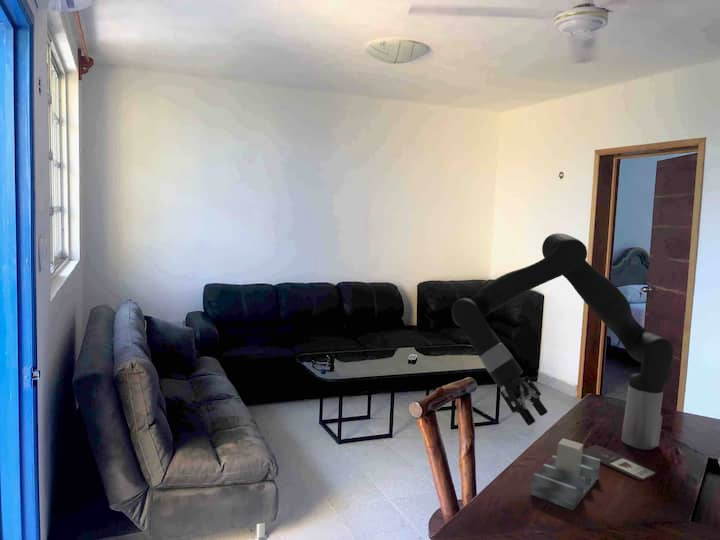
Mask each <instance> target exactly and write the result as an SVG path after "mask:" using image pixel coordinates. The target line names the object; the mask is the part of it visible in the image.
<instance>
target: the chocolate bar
mask: <svg viewBox="0 0 720 540" xmlns="http://www.w3.org/2000/svg"><path fill="white" fill-rule="evenodd" d="M582 454H584V455H588V456H591V457H594V458H597V459H600V460H601V461H600V463H601V464H600V465H602V464H603V466H605V465H606V466H605V467H607V466H608V467H607V468H609V467H610V468H609V469H611V468H612V469H611V470H613V469H614V471H615V470H616V472H618V471H619V472H618V473H620V472H621V473H620V474H622V475H624V476H626V475H627V477H629V478H632V479H633V480H635V479H636V481H637V480H638V482H639V481H640V482H642V481H644V480H645V478H646V479H648V478H650V477H652V476H654V475H656V474H658V470H656V469H653V468H651V467H649V466H646V465H644V464H642V463H639V462H637V461H635V460H634V459H633V460H632V459H630V458H628V457H626V456H623V455H621V454H619V453H617V452H614V451H612V450H609V449H607V448H605V447H603V446H601V445H599V444H594V445H591V446H589V447H585V448H583V452H582ZM653 474H654V475H653ZM651 475H652V476H651ZM649 476H650V477H649ZM647 477H648V478H647ZM643 479H644V480H643ZM641 480H642V481H641Z"/></svg>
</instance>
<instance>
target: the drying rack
mask: <svg viewBox="0 0 720 540" xmlns="http://www.w3.org/2000/svg"><path fill="white" fill-rule="evenodd" d="M556 457H557V455H552V456H551V460H550V461H551V463H550V464H547V463H544V464H543V465H542V468H541V469H542V471H541V474H539V473H537V472H534V473H533V474H532V484H531V490H530V492H531V493H530V495H532V496H534V497H537V498H539V499H542V500H545V501H547V502H550V503H553V504H554V505H557V506H560V507H563V508H565V509H568V510H570V511H574V510H575V508H577V506H578V504H579V503H580V502H581V501H582V500H581V499H583V498H584V497H585V496H586V495H587V494H588V493H589V491H590V490H591V488H592V487H593V486H594V485H595V483H596V482H597V481H598V480H599V473H600V468H601V464H600V461H601V460H600V459H597V458H594V457H591V456H588V455H584V454H582V460H581V468H580V476H579V475H576V474H573V473H570V472H567V471H564V470H561V469H559V468H556V467H555V465H556ZM596 480H597V481H596Z"/></svg>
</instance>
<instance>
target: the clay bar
mask: <svg viewBox="0 0 720 540" xmlns="http://www.w3.org/2000/svg"><path fill="white" fill-rule="evenodd" d="M583 449H584V444H583V443H580V442H577V441H574V440H570V439H567V438H564V437H563V438H562V439H561V440H560V441H559V442H558V443H557V451H556V456H557V457H556V465H555V467H556V468H559V469H561V470H564V471H567V472H570V473H573V474H576V475H579V476H580V468H581V460H582V452H583Z"/></svg>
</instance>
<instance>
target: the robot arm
mask: <svg viewBox="0 0 720 540" xmlns="http://www.w3.org/2000/svg"><path fill="white" fill-rule="evenodd" d="M541 251H542V252H541V253H542V256H543V258H542V259H540V260H539V261H537V262H535V263H533V264H530V265H528V266H525V267H522V268H519V269H516V270H512V271H509V272H507V273H504V274H503V275H500V276H499V277H497V278H495V279H494V280H492V281H491V282H489V283H487V284H486V285H484V286H483V287H481V288H480V289H479V290H478V292H477V293H476V294H474V295H473V296H471V297H470V298H467V297H463V298H459V299H457V300H456V301H455V302H454V303H453V305H452V307H451V316H452V321H453V323H454V324H455V325H456V326H458V327H459V328H461V330H462V332H463V333H464V334H465V336H466V337H467V339H468V340H469V343H470V345H471V347H472V349H473V350H474V351H475V353H476V355H477V356H478V358H479V359H480V360H481V363H482V364H483V366H484V368H485V369H486V370H487V372H488V373H489V376H491V378H492V380H493V381H494V383H495V384H496V385H497V387H499V388H502V387H504V389H502V390H501V391H500V392H499V393H500V395H501V396H502V398H503V400H504V401H505V403H506V404H507V406H508V408H509V409H510V411H511V412H512V413H517V414H519V415H520V416H521V417H522V419H523V420H524V422H525V424H526V425H527V426H531V425H533V424H534V423H536V419H535V418H534V416H533V415H532V413H531V411H530V410H529V409H528V408H527V406H526V403H525V402H526V400H527V401H528V402H529V403H531V405H532V406H533V407H534V409H535V411H536V412H537V413H538V415H539V416H540V417H543V416H544V415H546V414H547V413H548V410H547V408H546V407H545V405H544V404H543V402H542V401H541V400H540V399H541V395H542V393H541V391H540V390H539V389H538V388H537V386H536V385H535V383H534V382H533V381H532V380H531V379H530V377H529V376H528V375H526V376H523V377H522V376H521V375H522V374H523V372H524V370H523V369H522V367H521V366H520V365H519V363H518V362H517V360H516V359H515V358H514V357H513V355H512V353H511V352H510V351H509V349H508V348H507V347H506V346H505V345H504V343H503V342H502V341H501V340H500V338H499V337H498V335H497V334H496V333H495V331H494V330H493V328H492V327H491V326H490V325H489V323H488V322H487V319H486V317H487V316H488V315H490V314H491V313H492V312H494V311H496V310H497V309H499V308H501V307H503V306H505V305H506V304H508V303H509V302H510V303H511V301H512V300H514V299H516V298H518V297H520V296H521V295H523V294H525V293H527V292H528V291H530V290H532V289H535V288H537V287H539V286H541V285H543V284H546V283H548V282H549V281H552V280H554V279H557V278H559V277H562V276H563V278H565V279H566V280H567V281H568V283H570V285H571V286H572V288H574V290H575V291H576V293H577V294H578V295H579V296H580V297H581V299H582V300H583V302H584V303H585V304H586V305H587V307H588V308H589V309H590V310H591V311H592V312H593V313H594V314H595V316H597V317H598V318H599V320H601V322H602V323H604V324H605V326H606V327H607V328H608V329H609V330H610V331H611V332H612V333H613V334H614V335H615V336H616V338H618V340H619V341H620V343H621V344H622V346H623V348H624V349H625V350H626V352H627V353H628V355H629V356H630V357H631V358H632V359H633V360H634V361H636V362H639V363H641V364H642V367H641V370H640V371H641V372H640V373H633V374H631V375H630V376H629V381H628V388H627V393H626V395H627V396H626V403H625V409H624V417H623V422H622V423H623V425H622V431H621V439H620V440H621V442H623V443H624V444H626V445H627V446H630V447H632V448H636V449H639V450H648V451H649V450H653V449H655V448H657V447H659V445H660V437H661V432H662V431H661V430H662V425H663V423H662V422H663V415H662V414H661V411H662V409H661V408H662V405H663V404H662V402H663V396H664V390H665V389H664V388H665V386H666V384H667V383H668V381H669V378H670V372H671V367H672V363H673V357H674V347H673V344H672V342H671V341H670V340H669V339H668V338H666V337H663V336H660V335H658V334H655V333H652V332H650V331H648V330H647V329H646V328H644V327H643V326H642V325H641V324H640V323H639V322H638V321H637V320H636V319H635V317H634V316H633V312H632V308H631V304H630V302H629V300H628V299H627V297H626V296H625V295H624V293H622V291H621V290H620V288H618V287H617V286H616V284H615V283H613V282H612V281H611V280H610V279H609V278H608V277H606V276H605V275H604V274H602V273H601V272H600V271H598V269H596V267H595V268H594V267H593V266H592V265H591V264H590V263H589V262H587V257H588V249H587V246H586V245H585V243H583V241H581V240H579V239H578V238H575V237H573V236H571V235H568V234H566V233H559V232H556V233H552V234H550V235H548V236H547V237H546V238H545V239H544V240H543V243H542V247H541Z"/></svg>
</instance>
